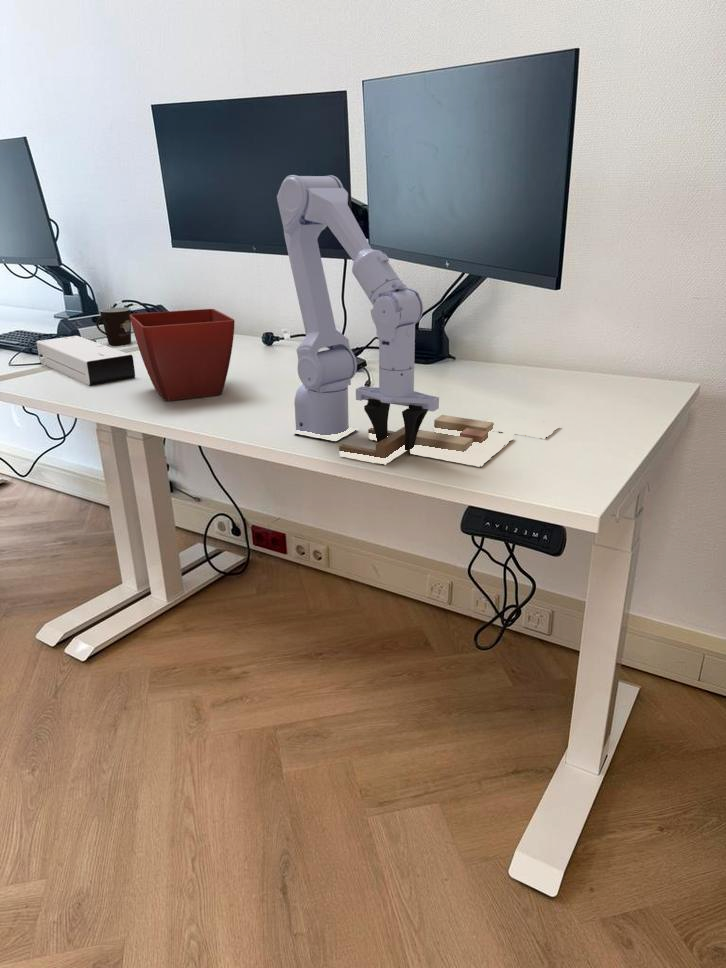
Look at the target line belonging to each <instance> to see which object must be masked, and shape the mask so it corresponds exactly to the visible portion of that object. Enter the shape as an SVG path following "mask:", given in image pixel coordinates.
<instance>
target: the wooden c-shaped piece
mask: <svg viewBox="0 0 726 968" xmlns="http://www.w3.org/2000/svg"><path fill="white" fill-rule="evenodd" d="M368 433H372V434H375V431H374V428H373V427H370V428H368V432H367V434H368ZM403 445H405V426H404V425H403V427H401V428H400V429H398V430H397V431H393V430H388V437H386V438H385V439H383V440H381V441H380V442H376V443H375V449H373V448H367V447H362V446H358V445H357V446H356V445H351V444H346V443H342V444H339V446H338V452H339V451H344V452H350V453H357V454H363V455H369V456H374V457H380V458H386V457H388V456H389V455H390V454H392V453H393V452H394V451H396V450H398V449H399V448H400V447H402V446H403Z"/></svg>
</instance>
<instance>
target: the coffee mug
mask: <svg viewBox="0 0 726 968" xmlns="http://www.w3.org/2000/svg"><path fill="white" fill-rule="evenodd" d="M99 314H100V317H98V318H97V319H96V321H95V323H96V329H98V331H99V332H100V333H102V334H103V335H105V336H106V339H107V343H108V346H110V345H111V346H110V347H122V346H121V345H124V346H128V344H129V345H131V344H132V323H131V319H130V314H132V312H131V308H129V307H108V308H103V309H102V308H101V309H100V310H99ZM100 321H102V323H103V324H102V325H103V328H104V330H102V329H101V327H100V326H99V322H100Z"/></svg>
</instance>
